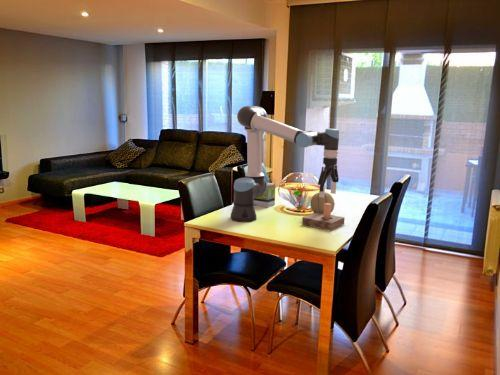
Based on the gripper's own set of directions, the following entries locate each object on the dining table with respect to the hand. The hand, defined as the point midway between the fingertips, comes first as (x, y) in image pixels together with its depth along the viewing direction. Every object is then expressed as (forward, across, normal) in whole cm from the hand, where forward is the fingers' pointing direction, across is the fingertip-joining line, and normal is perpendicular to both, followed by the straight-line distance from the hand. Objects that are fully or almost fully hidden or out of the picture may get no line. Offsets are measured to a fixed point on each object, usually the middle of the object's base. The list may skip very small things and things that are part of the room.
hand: (327, 195), depth 240 cm
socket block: (+17, 0, +1) cm, 17 cm away
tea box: (+18, +15, +55) cm, 60 cm away
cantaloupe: (+17, +17, +11) cm, 27 cm away
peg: (+17, 0, -1) cm, 17 cm away
